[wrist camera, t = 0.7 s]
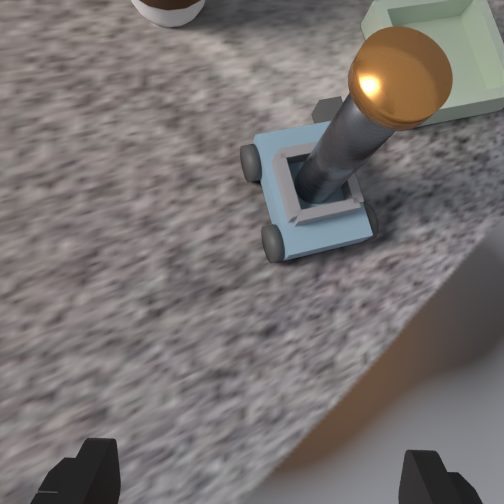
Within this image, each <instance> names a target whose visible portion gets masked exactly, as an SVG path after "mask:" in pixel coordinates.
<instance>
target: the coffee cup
mask: <svg viewBox="0 0 504 504" xmlns="http://www.w3.org/2000/svg"><path fill="white" fill-rule="evenodd" d="M131 1H132V3H133V4H134V5H135V7H136V8H137V9H138V11H139V12H140V13H141V14H142V15H143V16H144V17H145V18H146V19H148V20H149V21H151V22H153V23H154V24H156V25H160V26H165V27H177V26H183V25H184V24H186V23H188V22H190V21H192V20H193V19H194V18H195V17H196V16H197V14H198V13H199V12H200V10H201V9H202V8H203V7H204V3H205V0H131Z"/></svg>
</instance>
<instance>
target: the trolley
mask: <svg viewBox="0 0 504 504" xmlns="http://www.w3.org/2000/svg"><path fill="white" fill-rule="evenodd" d="M330 122H331V121H327V122H322V123H316V124H311V125H305V126H300V127H295V128H289V129H284V130H278V131H273V132H268V133H262V134H257V135H255V138H254V141H253V144H250V145H244V146H241V148H240V158H241V165H242V169H243V173H244V176H245V178H246V180H247V182H253V181H258V180H260V182H261V185H262V189H263V192H264V196H265V200H266V203H267V207H268V211H269V214H270V218H271V221H272V225H269V226H264V227H262V230H261V236H262V243H263V247H264V251H265V254H266V257H267V259H268V261H269V262H270V263H274V262H278V261H285V260H289V259H293V258H298V257H302V256H306V255H310V254H314V253H318V252H322V251H327V250H331V249H335V248H339V247H343V246H347V245H351V244H356V243H360V242H362V241H365V240H370V239H374V238H375V237H376V236H377V233H378V221H377V217H376V214H375V212H374V210H373V208H372V207H371V206H370V205H369V204H363V202H364V199H363V196H362V193H361V189H360V186H359V183H358V180H357V177H356V173H354V174H353V175H352V176H351V177H350V178H349V179H348V180H347V181H346V182H345V183H344V184H343V185H342V186H341V187H340V188H339V189H338V190H337V191H336V192H335V193H334V194H333V195H332V196H331V197H330V198H329V199H328V200H327V201H325V202H324V203H321V204H310V203H307V202H305V201H304V200H302V199H301V198H300V197H299V196H298V194H297V192H296V190H295V186H294V181H295V177H296V175H297V173H298V172H299V170H300V169H301V167H302V166H303V164H304V162H305V161H306V159H307V158H308V156H309V155H310V153H311V152H312V150H313V149H314V147H315V146H316V144H317V142H318V141H319V139H320V138H321V136H322V135H323V133H324V132H325V130H326V129H327V127H328V125H329V124H330Z"/></svg>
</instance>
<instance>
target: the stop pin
mask: <svg viewBox="0 0 504 504" xmlns="http://www.w3.org/2000/svg"><path fill="white" fill-rule="evenodd" d="M452 84H453V74H452V69H451V65H450V62H449V60H448V58H447V56H446V54H445V53H444V51H443V50H442V49H441V47H440V46H439V45H438V44H437V43H436V42H435V41H434V40H433V39H431V38H430V37H429V36H427V35H426V34H424V33H422V32H420V31H418V30H415V29H412V28H408V27H401V26H394V27H387V28H383V29H381V30H378V31H377V32H375V33H373V34H372V35H371V36H369V37H368V38H367V39H366V41H365V42H364V43H363V45H362V47H361V48H360V50H359V52H358V53H357V55H356V57H355V59H354V60H353V62H352V64H351V66H350V69H349V74H348V86H349V91H350V93H349V95H348V96H347V98H346V99H345V101H344V102H343V104H342V105H341V107H340V109H339V110H338V112H337V113H336V115H335V116H334V118H333V119H332V121H331V122H330V124H329V125H328V127H327V129H326V130H325V132H324V133H323V135H322V136H321V138H320V139H319V141H318V142H317V144H316V146H315V147H314V149H313V150H312V152H311V153H310V155H309V156H308V158H307V159H306V161H305V162H304V164H303V166H302V167H301V169H300V170H299V172H298V173H297V175H296V177H295V181H294V186H295V190H296V192H297V194H298V196H299V197H300V198H301V199H302V200H304V201H305V202H307V203H310V204H321V203H324V202H325V201H327V200H328V199H329V198H330V197H331V196H332V195H333V194H334V193H335V192H336V191H337V190H338V189H339V188H340V187H341V186H342V185H343V184H344V183H345V182H346V181H347V180H348V179H349V178H350V177H351V176H352V175H353V174H354V173H355V172H356V171H357V170H358V169H359V168H360V167H361V166H362V165H363V164H364V163H365V162H366V161H367V160H368V159H369V158H370V157H371V156H372V155H373V154H374V153H375V152H376V151H377V150H378V149H379V148H380V147H381V146H382V145H383V144H384V143H385V142H386V140H387V139H388V138H389V137H390V136H391V135H392V134H393V133H394V132H395V131H396V130H407V129H412V128H415V127H417V126H419V125H421V124H423V123H424V122H425V121H427V120H428V119H429V118H430V117H431V116H432V115H433V114H434V113H435V112H436V111H438V110H439V109H440V108H441V107H442V106H443V105H444V103H445V102H446V101H447V99H448V98H449V95H450V93H451V89H452Z"/></svg>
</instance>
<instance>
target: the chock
mask: <svg viewBox="0 0 504 504" xmlns="http://www.w3.org/2000/svg"><path fill="white" fill-rule="evenodd" d="M342 104H343V102H342V98H341V96H340V97H334V98H329V99H323V100H319V102H318V103H317V105H316V107H315V109H314V111H313V113H312V117H313V120H314V124H316V123H322V122H327V121H332V119H333V118H334V116H335V115H336V113H337V112H338V110H339V109H340V107H341V105H342Z"/></svg>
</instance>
